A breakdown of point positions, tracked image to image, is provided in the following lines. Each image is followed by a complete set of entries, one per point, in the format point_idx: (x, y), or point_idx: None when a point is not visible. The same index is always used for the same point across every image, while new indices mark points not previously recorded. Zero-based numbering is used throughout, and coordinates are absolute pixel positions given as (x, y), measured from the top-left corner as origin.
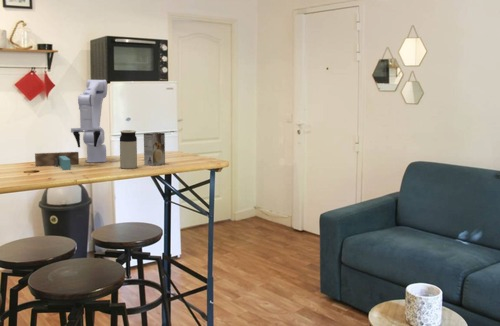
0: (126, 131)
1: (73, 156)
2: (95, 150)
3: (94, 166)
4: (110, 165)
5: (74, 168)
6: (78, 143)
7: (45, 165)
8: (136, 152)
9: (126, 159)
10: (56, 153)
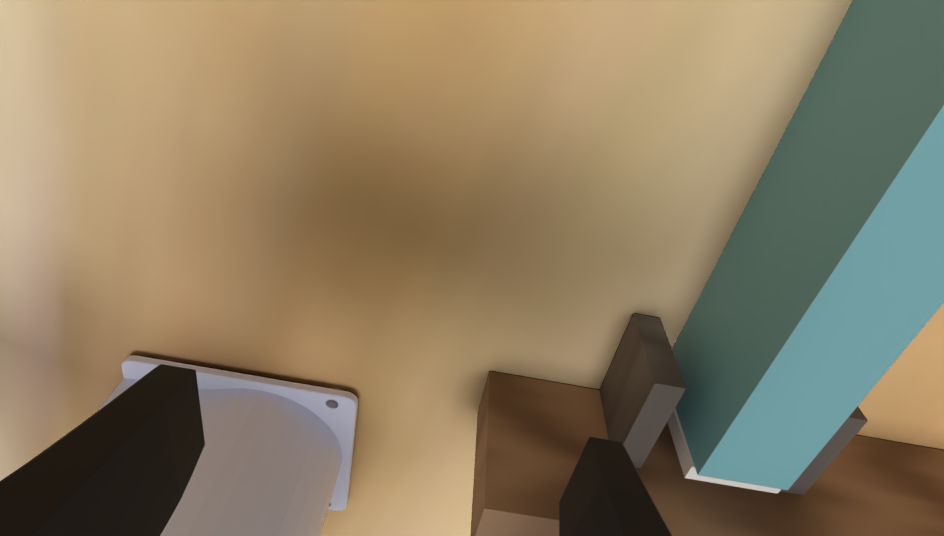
0: None
1: (557, 466)
2: (194, 520)
3: (366, 99)
4: (96, 59)
5: (730, 70)
6: (667, 533)
7: (864, 439)
8: None
9: None
10: None
